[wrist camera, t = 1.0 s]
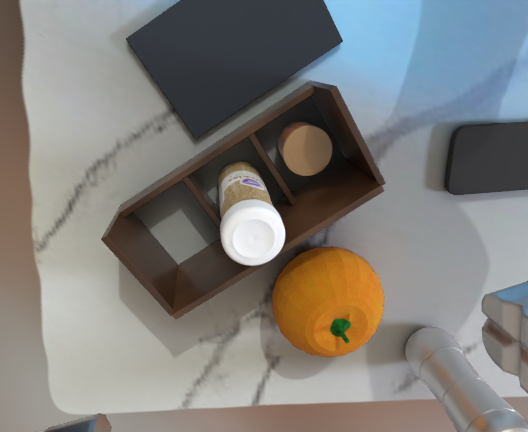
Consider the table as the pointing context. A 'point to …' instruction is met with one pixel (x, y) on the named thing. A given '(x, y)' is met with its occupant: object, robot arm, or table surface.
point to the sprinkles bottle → (248, 216)
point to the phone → (488, 158)
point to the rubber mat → (230, 52)
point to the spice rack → (290, 208)
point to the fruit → (328, 301)
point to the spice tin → (305, 148)
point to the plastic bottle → (459, 384)
